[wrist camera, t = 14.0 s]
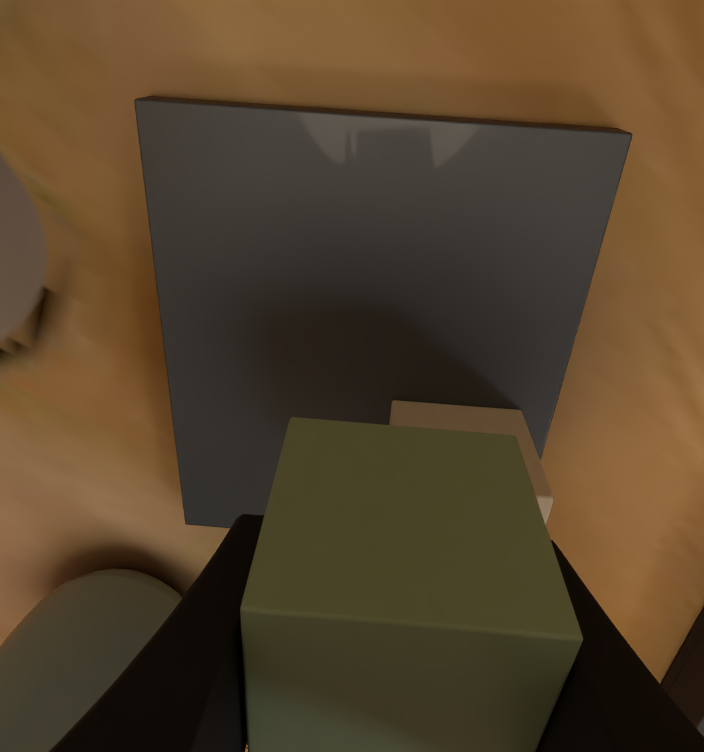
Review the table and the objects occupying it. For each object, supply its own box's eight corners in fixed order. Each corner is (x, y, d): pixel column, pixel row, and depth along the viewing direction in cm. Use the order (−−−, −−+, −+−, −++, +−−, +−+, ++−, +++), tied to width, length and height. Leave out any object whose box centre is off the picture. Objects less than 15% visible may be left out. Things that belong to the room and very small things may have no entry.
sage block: (477, 588, 12) (513, 807, 8) (288, 571, 12) (248, 782, 9) (516, 434, 10) (586, 640, 6) (289, 415, 10) (238, 608, 7)
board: (509, 531, 21) (515, 552, 20) (193, 505, 21) (184, 525, 21) (619, 127, 14) (633, 133, 13) (148, 95, 15) (133, 98, 14)
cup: (137, 678, 27) (21, 971, 19) (7, 584, 24) (-203, 878, 16) (261, 624, 25) (193, 933, 16) (132, 511, 22) (-36, 815, 13)
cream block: (497, 506, 19) (521, 605, 16) (381, 497, 19) (379, 593, 16) (521, 408, 17) (555, 497, 14) (391, 399, 17) (393, 484, 14)
